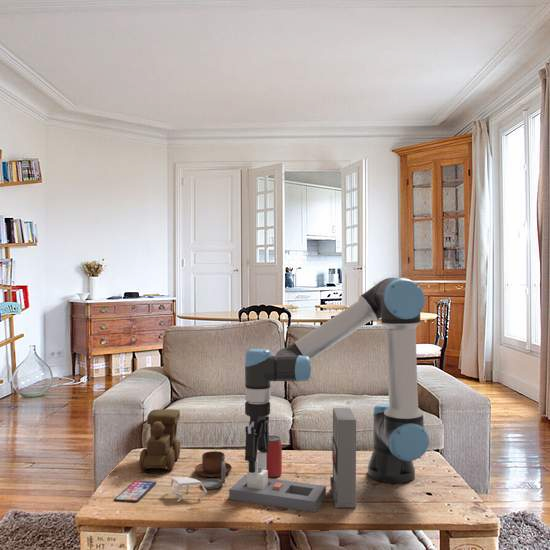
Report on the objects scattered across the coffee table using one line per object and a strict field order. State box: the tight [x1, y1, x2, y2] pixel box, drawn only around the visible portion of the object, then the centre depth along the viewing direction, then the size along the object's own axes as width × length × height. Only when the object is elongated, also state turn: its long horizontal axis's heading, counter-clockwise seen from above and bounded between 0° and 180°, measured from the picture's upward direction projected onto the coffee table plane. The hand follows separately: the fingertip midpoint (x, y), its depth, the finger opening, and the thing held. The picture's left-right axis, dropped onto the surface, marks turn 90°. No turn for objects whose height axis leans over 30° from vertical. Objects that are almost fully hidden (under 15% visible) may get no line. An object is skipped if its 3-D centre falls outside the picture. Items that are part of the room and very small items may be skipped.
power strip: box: [228, 474, 327, 513], centre depth 166 cm, size 26×12×4 cm, turn 71°
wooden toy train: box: [138, 408, 181, 472], centre depth 194 cm, size 20×11×17 cm, turn 0°
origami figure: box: [170, 476, 208, 502], centre depth 166 cm, size 12×8×5 cm
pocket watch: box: [201, 452, 226, 490], centre depth 175 cm, size 8×8×10 cm
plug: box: [246, 465, 269, 490], centre depth 168 cm, size 5×4×8 cm
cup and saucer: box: [194, 450, 232, 478], centre depth 186 cm, size 12×12×6 cm
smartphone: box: [113, 480, 157, 504], centre depth 170 cm, size 8×1×15 cm
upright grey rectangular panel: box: [329, 407, 357, 509], centre depth 165 cm, size 14×6×25 cm, turn 0°
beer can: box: [266, 435, 283, 478], centre depth 184 cm, size 7×7×12 cm
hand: (257, 478), depth 168 cm, fingers open, 7 cm apart
